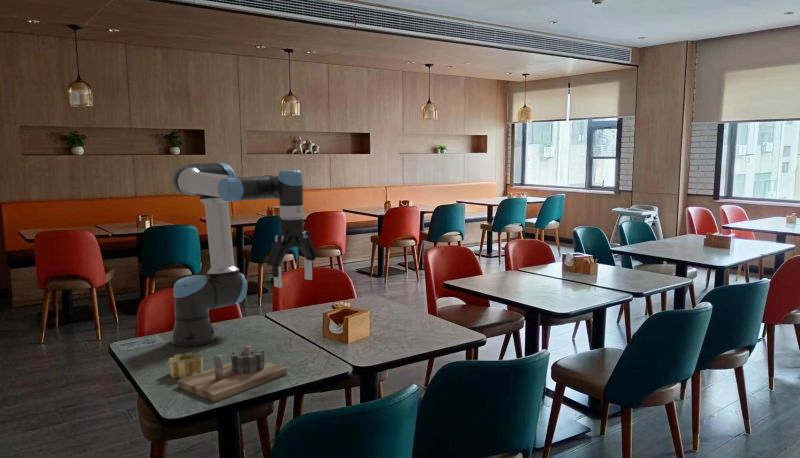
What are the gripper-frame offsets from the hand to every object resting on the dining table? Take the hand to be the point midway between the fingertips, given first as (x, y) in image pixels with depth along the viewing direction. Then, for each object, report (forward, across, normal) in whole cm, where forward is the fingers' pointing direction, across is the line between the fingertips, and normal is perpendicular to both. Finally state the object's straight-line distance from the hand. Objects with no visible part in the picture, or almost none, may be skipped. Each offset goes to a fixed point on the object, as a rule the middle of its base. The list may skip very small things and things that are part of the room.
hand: (293, 283), depth 196 cm
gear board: (+26, -24, +1) cm, 35 cm away
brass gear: (+26, -29, +18) cm, 43 cm away
